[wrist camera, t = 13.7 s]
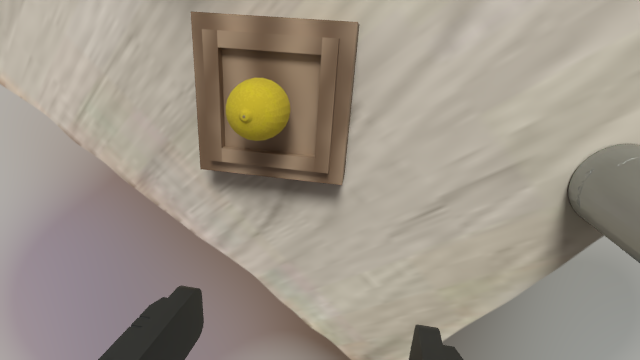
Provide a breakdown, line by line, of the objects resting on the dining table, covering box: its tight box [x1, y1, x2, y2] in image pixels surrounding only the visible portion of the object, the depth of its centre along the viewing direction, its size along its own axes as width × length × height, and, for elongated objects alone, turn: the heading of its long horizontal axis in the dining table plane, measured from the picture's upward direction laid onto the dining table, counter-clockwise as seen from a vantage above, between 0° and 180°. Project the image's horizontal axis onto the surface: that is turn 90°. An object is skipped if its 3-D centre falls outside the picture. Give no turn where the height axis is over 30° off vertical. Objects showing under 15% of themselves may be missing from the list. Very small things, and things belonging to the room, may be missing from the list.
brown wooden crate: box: [191, 12, 359, 185], centre depth 36 cm, size 16×16×5 cm
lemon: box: [226, 78, 290, 141], centre depth 31 cm, size 6×6×8 cm
